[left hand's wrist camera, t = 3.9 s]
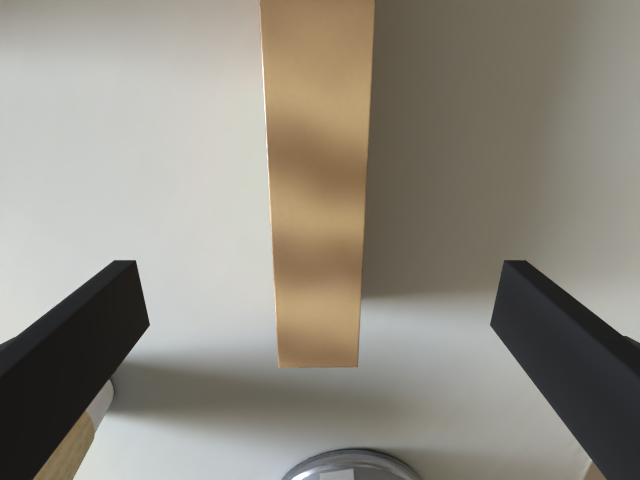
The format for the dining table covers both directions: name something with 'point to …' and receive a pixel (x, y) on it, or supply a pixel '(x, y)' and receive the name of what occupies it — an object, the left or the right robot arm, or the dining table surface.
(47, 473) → the coffee cup
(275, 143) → the bar
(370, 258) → the dining table surface
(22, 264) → the dining table surface
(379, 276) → the dining table surface
